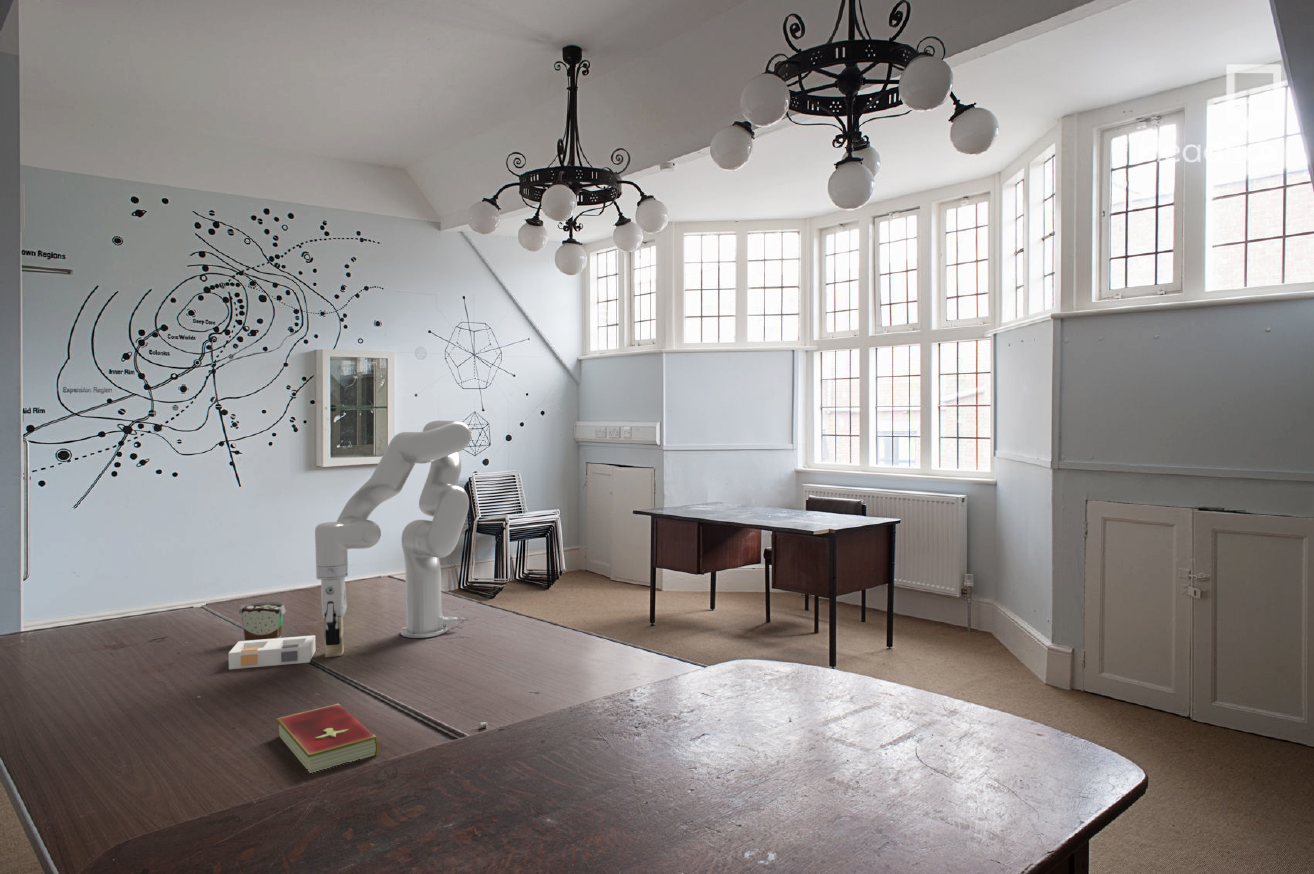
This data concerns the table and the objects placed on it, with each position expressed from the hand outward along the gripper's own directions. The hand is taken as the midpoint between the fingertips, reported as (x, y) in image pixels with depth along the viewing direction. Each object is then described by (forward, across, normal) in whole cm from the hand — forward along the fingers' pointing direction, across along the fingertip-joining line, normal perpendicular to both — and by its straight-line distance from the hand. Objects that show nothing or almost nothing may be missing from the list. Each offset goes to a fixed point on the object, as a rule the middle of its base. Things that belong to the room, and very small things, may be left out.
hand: (334, 641), depth 199 cm
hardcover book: (+4, -58, -6) cm, 59 cm away
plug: (+3, 0, 0) cm, 3 cm away
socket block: (+3, 0, +14) cm, 15 cm away
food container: (+4, +19, +19) cm, 27 cm away
